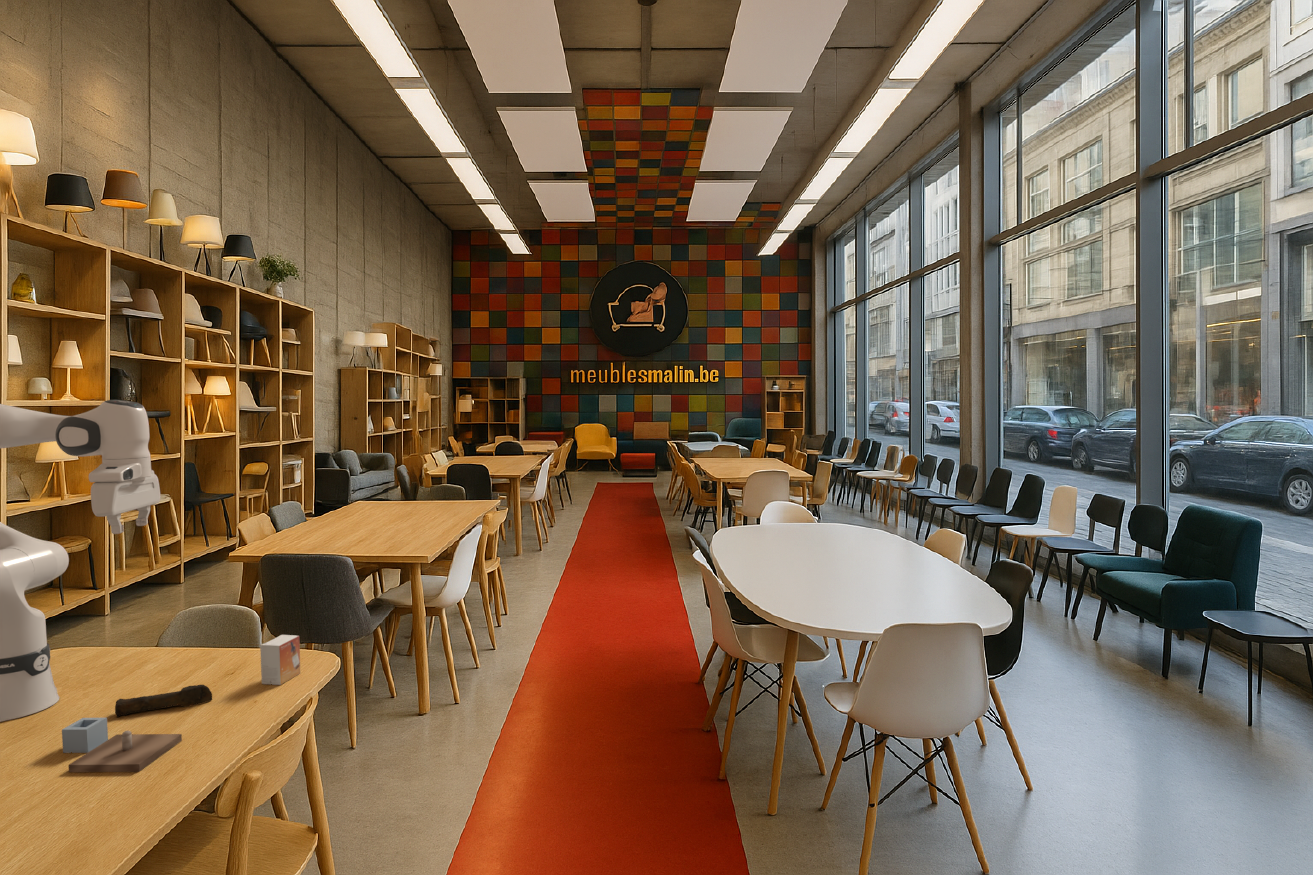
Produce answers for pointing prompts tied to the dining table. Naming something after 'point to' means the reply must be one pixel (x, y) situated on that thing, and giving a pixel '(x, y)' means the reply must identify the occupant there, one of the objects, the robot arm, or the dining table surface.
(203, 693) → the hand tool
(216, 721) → the dining table surface
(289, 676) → the small box
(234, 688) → the dining table surface
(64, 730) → the collar
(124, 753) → the mounting plate
